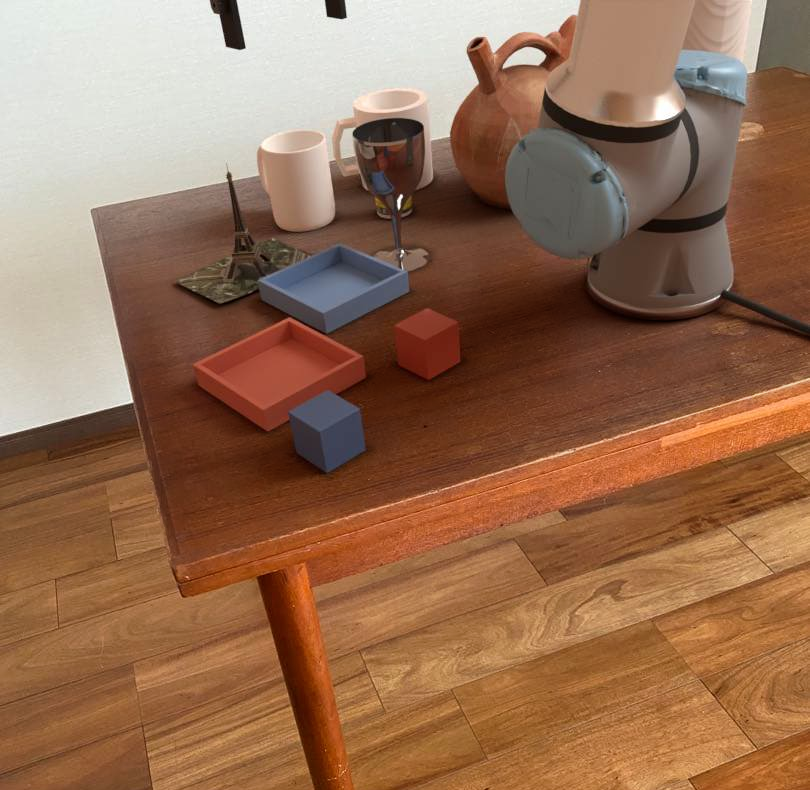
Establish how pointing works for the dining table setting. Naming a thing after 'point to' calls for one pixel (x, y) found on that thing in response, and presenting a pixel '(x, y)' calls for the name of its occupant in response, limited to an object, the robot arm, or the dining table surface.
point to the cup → (297, 179)
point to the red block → (427, 343)
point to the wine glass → (392, 176)
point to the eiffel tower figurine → (241, 262)
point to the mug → (384, 107)
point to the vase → (719, 27)
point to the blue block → (327, 431)
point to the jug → (502, 107)
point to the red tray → (278, 371)
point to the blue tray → (333, 287)
